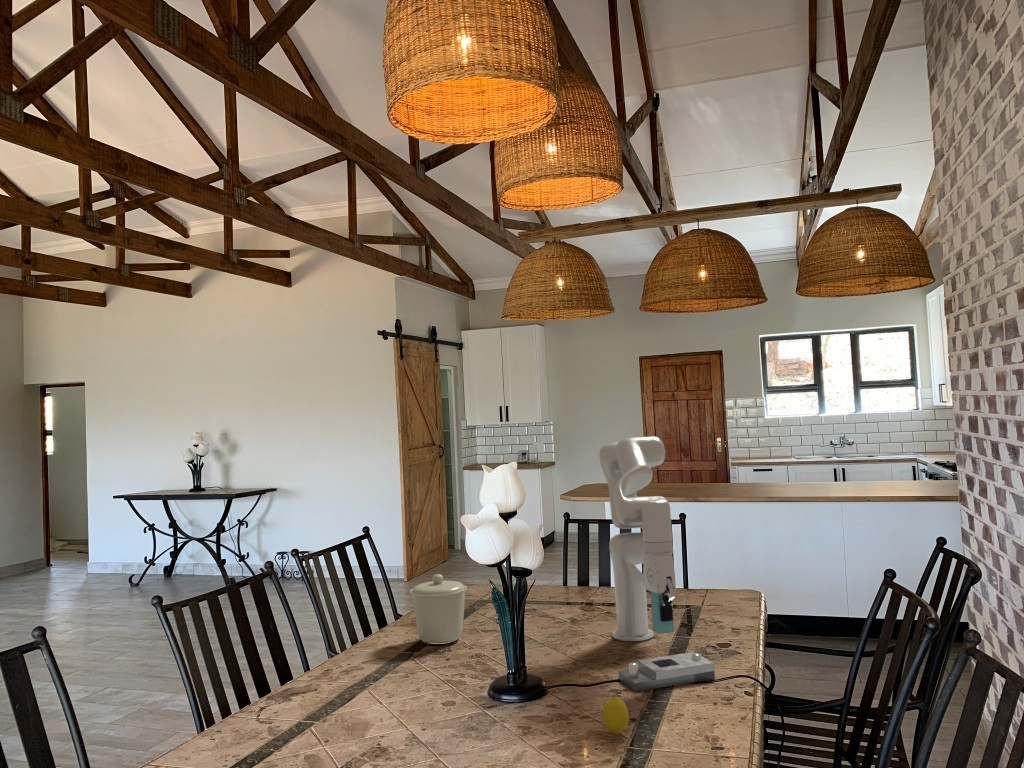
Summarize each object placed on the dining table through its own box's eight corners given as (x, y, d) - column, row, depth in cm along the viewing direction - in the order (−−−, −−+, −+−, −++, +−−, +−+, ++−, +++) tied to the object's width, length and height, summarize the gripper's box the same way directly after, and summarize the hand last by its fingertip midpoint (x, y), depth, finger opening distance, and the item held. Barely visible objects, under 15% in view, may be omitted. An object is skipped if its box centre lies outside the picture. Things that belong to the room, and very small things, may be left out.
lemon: (601, 730, 173) (599, 693, 174) (626, 728, 174) (624, 691, 174) (606, 741, 168) (604, 702, 168) (632, 738, 168) (630, 700, 169)
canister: (473, 632, 260) (469, 567, 261) (464, 648, 243) (460, 579, 243) (419, 634, 262) (415, 569, 263) (406, 650, 244) (403, 581, 245)
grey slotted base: (618, 678, 207) (617, 659, 207) (694, 667, 213) (693, 648, 213) (635, 691, 197) (634, 671, 197) (714, 678, 203) (713, 658, 203)
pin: (652, 630, 207) (650, 591, 207) (666, 628, 208) (664, 589, 208) (659, 633, 203) (657, 594, 203) (674, 631, 204) (671, 592, 204)
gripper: (631, 544, 213) (635, 614, 212) (659, 553, 197) (664, 628, 196) (656, 542, 215) (661, 610, 214) (686, 550, 199) (691, 624, 198)
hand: (662, 618), depth 205 cm, fingers closed on pin, 4 cm apart
